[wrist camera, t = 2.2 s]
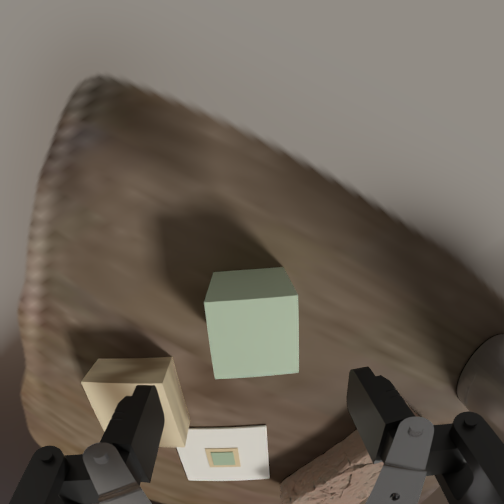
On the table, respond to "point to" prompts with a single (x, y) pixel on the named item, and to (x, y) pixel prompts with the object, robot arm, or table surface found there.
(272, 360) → the green block
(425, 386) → the table surface
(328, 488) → the brick
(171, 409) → the base block
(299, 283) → the table surface
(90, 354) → the table surface
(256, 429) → the page
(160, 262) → the table surface
